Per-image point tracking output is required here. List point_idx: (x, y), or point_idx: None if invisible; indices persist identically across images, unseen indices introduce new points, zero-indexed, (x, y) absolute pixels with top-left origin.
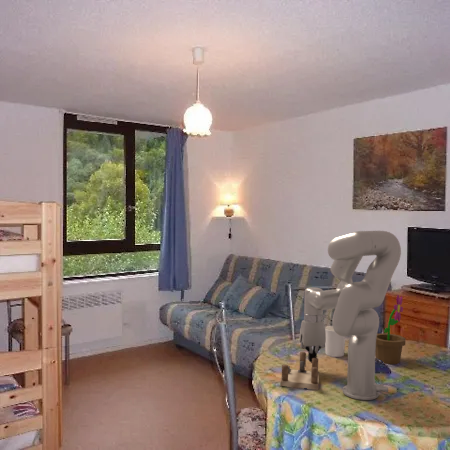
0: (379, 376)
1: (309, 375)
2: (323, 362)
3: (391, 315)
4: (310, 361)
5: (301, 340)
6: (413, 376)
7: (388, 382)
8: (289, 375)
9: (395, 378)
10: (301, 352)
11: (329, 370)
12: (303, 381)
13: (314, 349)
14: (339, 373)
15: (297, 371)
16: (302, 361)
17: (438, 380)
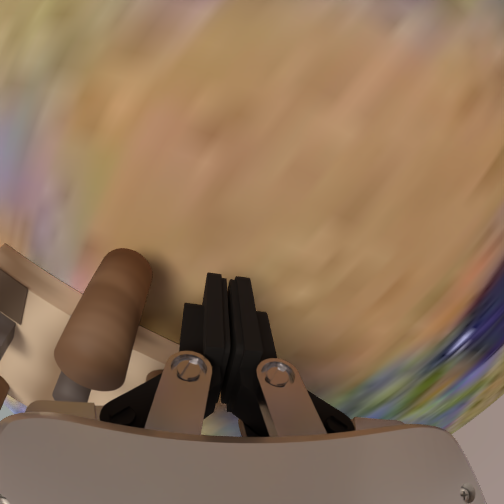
0: (440, 384)
1: (115, 397)
2: (427, 136)
3: None
4: (202, 304)
5: (24, 454)
6: (490, 383)
7: (408, 420)
8: (14, 357)
9: (452, 396)
10: (72, 354)
11: (343, 292)
12: None
13: (259, 414)
14: (352, 343)
15: (60, 335)
16: (70, 401)
17: (489, 401)
